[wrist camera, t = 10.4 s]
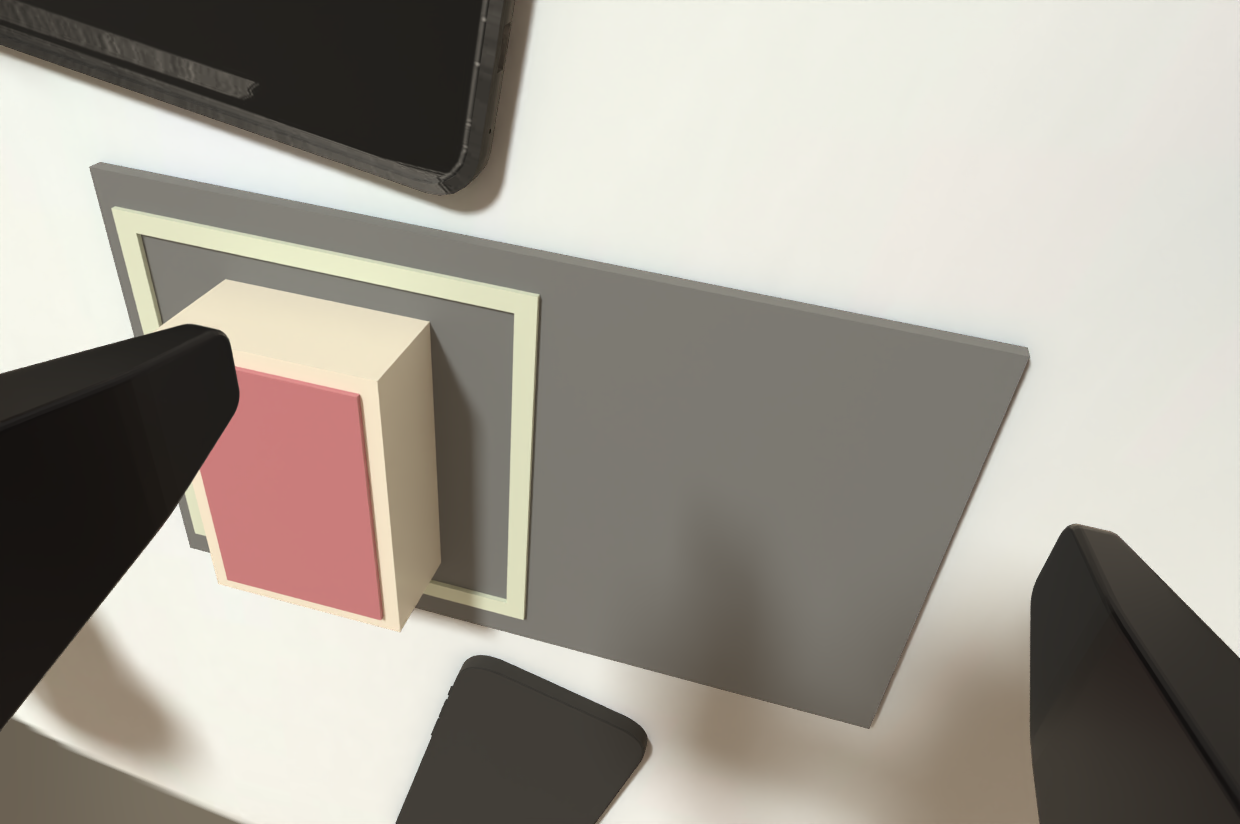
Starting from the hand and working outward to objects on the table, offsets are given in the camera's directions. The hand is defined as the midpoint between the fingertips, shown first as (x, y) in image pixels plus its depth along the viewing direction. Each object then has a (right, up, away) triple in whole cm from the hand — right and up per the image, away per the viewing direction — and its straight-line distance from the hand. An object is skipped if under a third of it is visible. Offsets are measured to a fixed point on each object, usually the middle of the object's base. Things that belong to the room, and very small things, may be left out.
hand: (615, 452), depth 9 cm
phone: (-4, -15, +27) cm, 31 cm away
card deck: (-8, 0, +17) cm, 19 cm away
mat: (-3, -1, +17) cm, 17 cm away
